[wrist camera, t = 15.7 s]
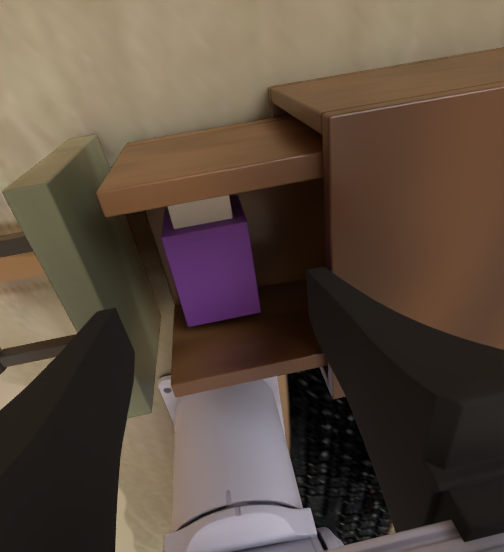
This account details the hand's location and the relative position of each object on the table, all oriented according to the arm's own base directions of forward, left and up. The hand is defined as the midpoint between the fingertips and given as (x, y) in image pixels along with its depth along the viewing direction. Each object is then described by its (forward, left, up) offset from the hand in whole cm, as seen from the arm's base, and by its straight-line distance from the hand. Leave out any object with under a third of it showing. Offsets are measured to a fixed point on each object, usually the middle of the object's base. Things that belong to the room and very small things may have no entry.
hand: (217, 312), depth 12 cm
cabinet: (0, -11, -8) cm, 13 cm away
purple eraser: (0, 0, -6) cm, 6 cm away
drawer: (0, +2, -7) cm, 7 cm away
